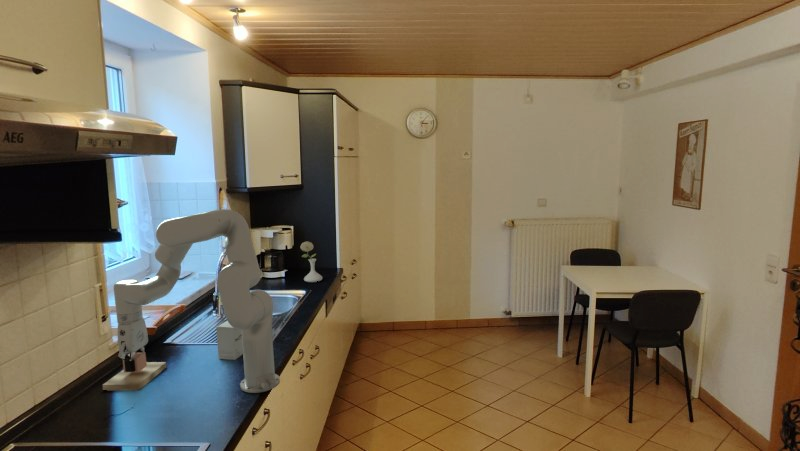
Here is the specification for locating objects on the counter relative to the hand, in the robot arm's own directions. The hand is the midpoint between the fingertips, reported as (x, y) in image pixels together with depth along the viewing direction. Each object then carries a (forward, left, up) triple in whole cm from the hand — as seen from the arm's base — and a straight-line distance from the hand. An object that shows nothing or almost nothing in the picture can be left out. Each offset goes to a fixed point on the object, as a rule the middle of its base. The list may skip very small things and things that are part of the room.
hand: (135, 367), depth 160 cm
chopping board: (0, 0, -4) cm, 4 cm away
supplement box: (-2, -32, -4) cm, 32 cm away
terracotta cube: (0, 0, -1) cm, 1 cm away
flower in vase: (+81, -106, -4) cm, 133 cm away
